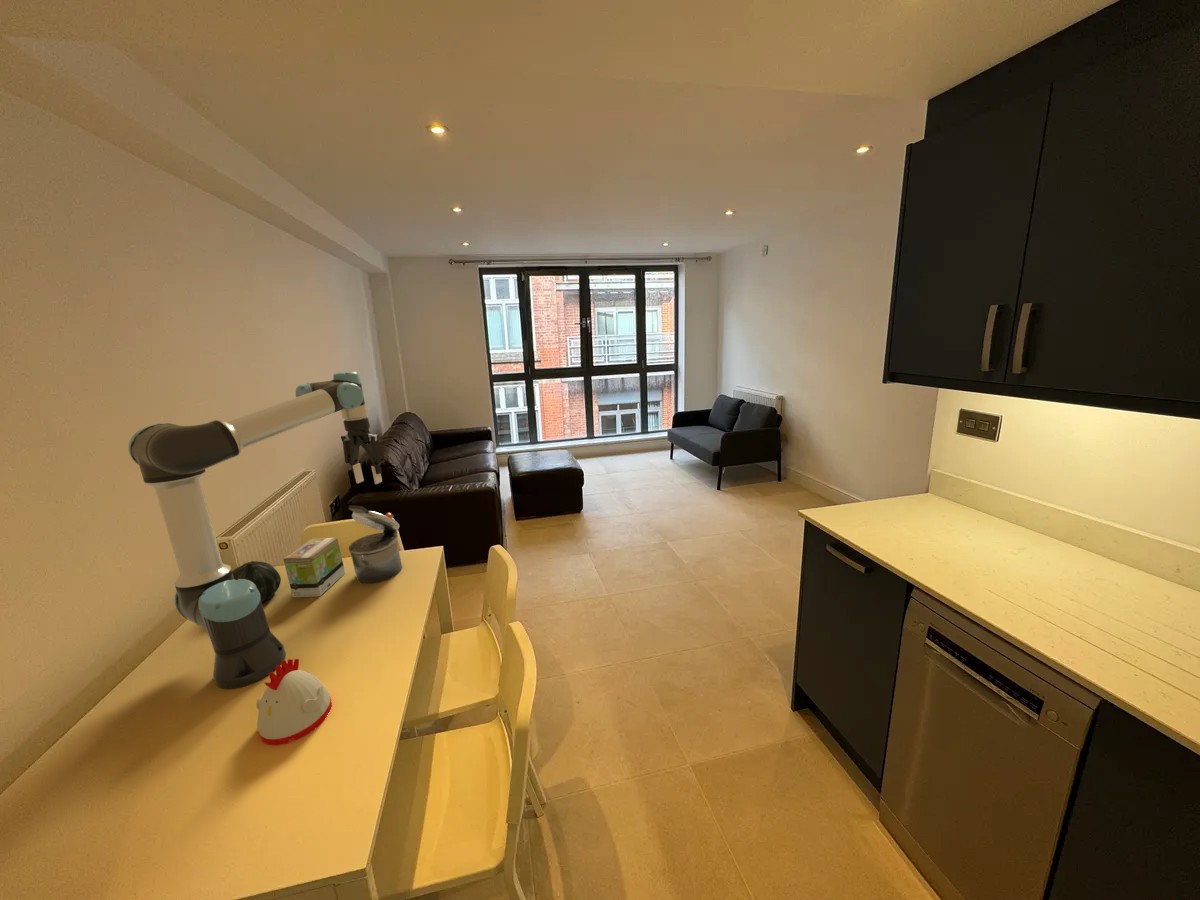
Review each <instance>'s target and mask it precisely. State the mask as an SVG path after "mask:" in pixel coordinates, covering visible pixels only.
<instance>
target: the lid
mask: <svg viewBox="0 0 1200 900" xmlns="http://www.w3.org/2000/svg"><path fill="white" fill-rule="evenodd" d="M348 510H349V511H351V512H352V514H351V518H352V519H353V520H354V521H356V522H357V523H358V524H361V525H362V526H365V527H368V528H370V529H372V530H373V529H374V530H377V531H382V532H396V531H397V532H398V531H399V528H400V523H399V522H397V521H396V520H395V519H393V517H394V514H392V513H390V512H385V513H386V514H385V515H384V514H382V513H379V512H377V511H372V510H368V509H367V508H366V507H364V506H362V505H353V504H351V505H349V506H348Z"/></svg>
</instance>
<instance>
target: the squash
mask: <svg viewBox="0 0 1200 900" xmlns="http://www.w3.org/2000/svg"><path fill="white" fill-rule="evenodd" d="M232 573H233V577H234V579H235V580H238V579H245V580H249V581H251V582H253V583H254V584H255V585H256V587H257V589H258V591H259V593H260V598H261V602H262V603H264V602H265V601H267V600H268V601H269V600H270V599H272V597H273V596H274V595H275V593H276V592H278V590H279V587H280V586H281V584H282V583H281V582H282V578H281V575H280V573H279V572H278V570H277V569H276V568H275V567H274V566H273V564H270V563H267V562H264V561H256V560H252V561H248V562H245V563H244V564H241V565H240V566H238V567H236V568H234V570H232Z"/></svg>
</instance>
